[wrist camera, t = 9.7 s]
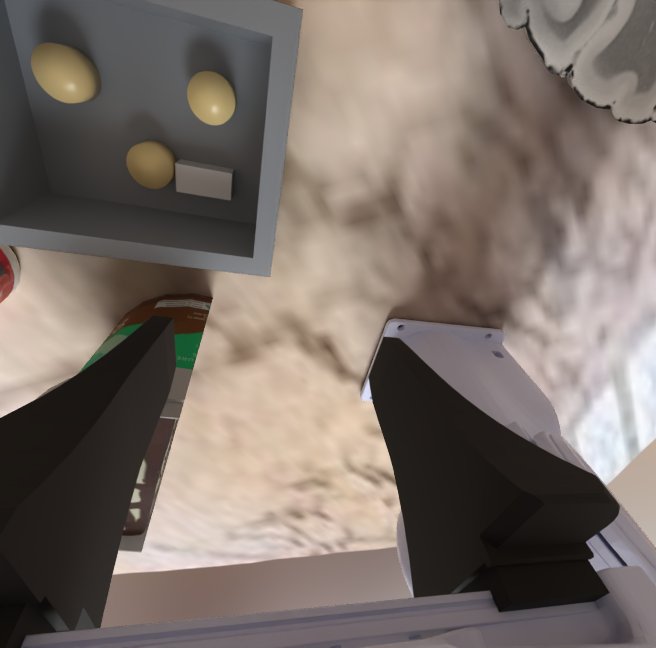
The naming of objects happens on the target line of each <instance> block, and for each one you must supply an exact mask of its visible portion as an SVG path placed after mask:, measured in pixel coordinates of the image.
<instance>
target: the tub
mask: <svg viewBox="0 0 656 648" xmlns="http://www.w3.org/2000/svg"><path fill="white" fill-rule="evenodd" d="M302 13H303V9H300V8H296V7H293V6H290V5H287V4H283V3H280V2H277V1H273V0H0V244H1V245H10V246H18V247H26V248H34V249H42V250H51V251H59V252H67V253H75V254H84V255H92V256H100V257H108V258H116V259H125V260H133V261H141V262H149V263H158V264H166V265H174V266H182V267H190V268H199V269H207V270H215V271H223V272H232V273H240V274H248V275H256V276H264V277H270V274H271V266H272V258H273V250H274V241H275V233H276V225H277V217H278V209H279V201H280V192H281V184H282V176H283V168H284V160H285V152H286V143H287V135H288V127H289V119H290V111H291V103H292V94H293V86H294V78H295V70H296V62H297V53H298V45H299V37H300V29H301V21H302Z"/></svg>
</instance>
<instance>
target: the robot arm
mask: <svg viewBox="0 0 656 648" xmlns="http://www.w3.org/2000/svg"><path fill="white" fill-rule="evenodd" d="M400 325H402V327H400V328H398V326H400ZM487 334H488V335H487ZM505 337H506V333H505V332H504V331H503V330H501V329H492V328H482V327H472V326H463V325H453V324H443V323H434V322H424V321H414V320H404V319H390V320H389V321H388V322H387V323H386V326H385V328H384V331H383V334H382V337H381V339H380V342H379V345H378V347H377V350H376V353H375V356H374V358H373V361H372V364H371V366H370V369H369V372H368V375H367V377H366V380H365V383H364V385H363V388H362V391H361V394H360V396H361V399H362V400H363V401H373V405H374V408H375V411H376V414H377V418H378V421H379V424H380V427H381V430H382V433H383V436H384V439H385V443H386V446H387V449H388V452H389V455H390V459H391V462H392V466H393V470H394V475H395V480H396V484H397V489H398V494H399V500H400V505H401V512H400V514H399V517H398V521H397V551H398V557H399V561H400V565H401V569H402V572H403V575H404V578H405V581H406V583H407V586H408V588H409V590H410V592H411V594H412V596H413V598H408V599H398V600H387V601H377V602H366V603H356V604H347V605H335V606H325V607H315V608H304V609H295V610H285V611H273V612H263V613H252V614H242V615H232V616H221V617H212V618H201V619H191V620H180V621H170V622H159V623H149V624H139V625H129V626H119V627H108V628H100V626H101V622H102V617H103V612H104V609H105V604H106V600H107V596H108V591H109V587H110V583H111V578H112V574H113V570H114V566H115V562H116V558H117V554H118V550H119V546H120V542H121V538H122V534H123V530H124V526H125V522H126V519H127V515H128V511H129V507H130V504H131V500H132V496H133V493H134V489H135V486H136V482H137V478H138V475H139V471H140V468H141V465H142V462H143V459H144V456H145V454H146V451H147V449H148V446H149V444H150V441H151V439H152V436H153V434H154V431H155V429H156V426H157V424H158V421H159V418H160V416H161V413H162V411H163V408H164V406H165V403H166V401H167V398H168V396H169V393H170V389H171V385H172V382H173V378H174V373H175V369H176V350H175V333H174V318H171V317H160V316H152V317H151V318H149V319H148V320H147V321H146V322H145V323H143V324H142V325H141V326H140V327H139V328H137V329H136V330H135V331H134V332H133V333H131V334H130V335H129V336H128V337H127V338H125V339H124V340H123V341H122V342H120V343H119V344H118V345H117V346H115V347H114V348H113V349H112V350H110V351H109V352H108V353H106V354H105V355H104V356H102V357H101V358H100V359H98V360H97V361H96V362H94V363H93V364H91V365H90V366H89V367H87V368H86V369H84V370H83V371H81V372H80V373H79V374H77V375H76V376H74V377H73V378H71V379H70V380H68V381H66V382H65V383H63V384H62V385H60V386H58V387H57V388H55V389H53V390H52V391H50V392H48V393H47V394H45V395H43V396H41V397H40V398H38V399H36V400H34V401H32V402H30V403H28V404H26V405H25V406H23V407H21V408H19V409H17V410H15V411H13V412H11V413H9V414H7V415H5V416H3V417H1V418H0V648H656V548H655V546H654V545H653V544H652V542H651V541H650V540H649V538H648V537H647V536H646V534H645V533H644V532H643V531H642V530H641V528H640V527H639V526H638V524H637V523H636V522H635V521H634V519H633V518H632V517H631V516H630V514H629V513H628V512H627V511H626V510H625V508H624V507H623V506H622V504H621V503H620V502H619V501H618V500H617V499H616V497H615V496H614V495H613V494H612V492H611V491H610V490H609V489H608V488H607V486H606V485H605V484H604V483H603V482H602V480H601V479H600V478H599V477H598V476H597V474H596V473H595V472H594V471H593V470H592V469H591V467H590V466H589V465H588V464H587V463H586V462H585V461H584V459H583V458H582V457H581V456H580V455H579V454H578V453H577V451H576V450H575V449H574V448H573V447H572V446H571V445H570V444H569V443H568V442H567V441H566V440H565V439H564V438H563V437H562V436H561V432H560V425H559V421H558V417H557V414H556V412H555V410H554V407H553V406H552V404H551V402H550V401H549V399H548V398H547V397H546V395H545V394H544V393H543V392H542V391H541V390H540V388H539V387H538V386H537V385H536V384H535V383H534V381H533V380H532V379H531V378H530V377H529V376H528V374H527V373H526V372H525V371H524V370H523V369H522V367H521V366H520V365H519V364H518V363H517V362H516V361H515V359H514V358H513V357H512V356H511V355H510V354H509V352H508V351H507V350H506V349H505V348H504V347H503V345H502V342H503V341H504V339H505Z"/></svg>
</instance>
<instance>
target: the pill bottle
mask: <svg viewBox="0 0 656 648" xmlns="http://www.w3.org/2000/svg"><path fill="white" fill-rule="evenodd" d="M19 278H20V267H19V263H18V260H17V258H16V256H15V254H14V253H13V251H12V250H11V248H10V247H9V246H8V245H1V244H0V303H1V302H2V301H3V300H4V299H5V298H7V297H8V296H9V295H10V294H11V293H12V292H13V291H14V290H15V289H16V287H17V286H18V284H19Z"/></svg>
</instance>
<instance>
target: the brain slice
mask: <svg viewBox="0 0 656 648" xmlns="http://www.w3.org/2000/svg"><path fill="white" fill-rule="evenodd" d="M499 5H500V14H501V15H502V17H503V19H504V21H505V23H506V24H507V26H508V27H510V28H513V29H517V30H518V29H520V28H522V27H524V31H525V35H526V38H527V39H528V41H529V42H530V44H531V45H532V47H533V48H534V50H535V51H536V53H537V54H538V56H539V57H540V59H541V60H542V62H543V63H544V65H545V66H546V68H547V69H548V70H549V72H550V73H552V74H558V75H559V76H560V77H561V78H564V77H566V78H567V82H568V84H569V85H570V86H571V88H572V89H573V90H574V91H575V92H576V94H577V95H578V96H579V97H580V98H581V100H583V101H585V102H587V103H589V104H591V105H593V106H594V107H596V108H603V109H611V111H612V113H613V115H614V117H615V119H616V120H618V121H620V122H625V123H629V124H642V123H645V122H648V121H650V120H651V121H653V122H655V123H656V0H499Z"/></svg>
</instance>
